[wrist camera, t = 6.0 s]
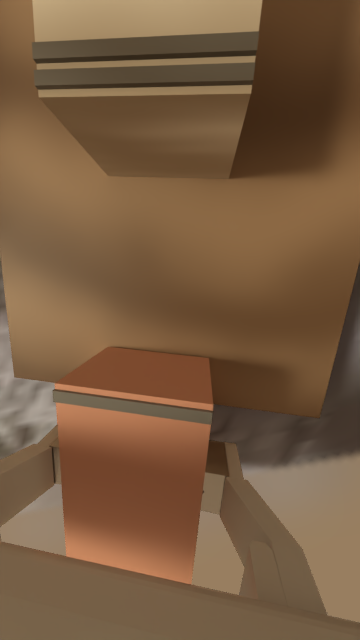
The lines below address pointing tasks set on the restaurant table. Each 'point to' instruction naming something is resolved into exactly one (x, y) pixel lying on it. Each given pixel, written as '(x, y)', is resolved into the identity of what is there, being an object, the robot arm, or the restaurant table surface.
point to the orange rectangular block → (134, 459)
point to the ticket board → (182, 187)
